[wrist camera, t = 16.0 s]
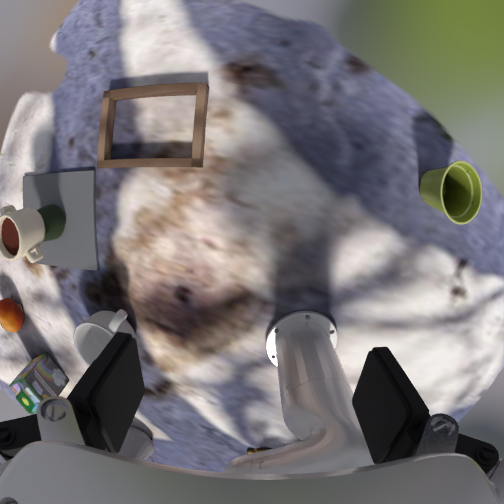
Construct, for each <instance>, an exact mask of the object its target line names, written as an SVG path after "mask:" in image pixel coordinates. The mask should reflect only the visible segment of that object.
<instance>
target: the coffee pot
mask: <svg viewBox="0 0 504 504" xmlns="http://www.w3.org/2000/svg"><path fill="white" fill-rule="evenodd" d="M153 452H154V445H153V442H152V441H151V439H150V438H149V436H148V435H147V434H146V433H145V432H143V431H142V430H140V429H138V428H135V427H132V426H130V427H129V430H128V432H127V435H126V437H125V440H124V442H123V444H122V447H121V449H120V451H119V453H115V454H119V455H123V456H127V457H131V458H135V459H139V460H144V461H145V460H146V459H147V458H148V457H150V455H151V454H152V453H153ZM152 460H153V458H152ZM153 463H154V460H153Z"/></svg>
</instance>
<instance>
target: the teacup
mask: <svg viewBox="0 0 504 504" xmlns="http://www.w3.org/2000/svg"><path fill="white" fill-rule="evenodd" d="M126 317H127V313H126V312H125V311H124V310H122V309H120V310H119V311H118V312H117V313H115V312H112V311H99V312H97V313H95V314H93V315H92V316H90V317H89V318H88V319H86V320H85V321H84V322H83V323H81V324H79V325H78V326H77V327H76V329H75V331H74V344H75V347H76V350H77V352H78V354H79V355H80V357H81V358H82V359H83V361H84V362H85V363H86V364H87V365H88V366H90V365H91V364H92V362H93V361H94V360H95V359H97V357H98V356H99V355H100V353H101V352H102V351H103V349H104V348H105V347H106V345H107V344H108V343H109V341H110V340H111V339H112V337H113V336H114V335H115V333H116V332H124V333H130V334H131V335H132V337H133V338H135V339H136V335H135V332H134V330H133V328H132V327H131V325H130V324H129V323H128V322H127V320H126ZM136 342H137V340H136Z"/></svg>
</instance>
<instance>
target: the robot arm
mask: <svg viewBox="0 0 504 504" xmlns="http://www.w3.org/2000/svg"><path fill="white" fill-rule="evenodd" d="M306 315H308V316H306ZM337 342H338V335H337V331H336V328H335V326H334V324H333V323H332V322H331V320H330V319H329V318H327V317H326V316H325V315H323V314H321V313H318V312H314V311H297V312H294V313H290V314H288V315H286V316H284V317H282V318H281V319H279V320H278V321H277V322H276V323H275V324H274V325H273V326H272V328H271V329H270V331H269V333H268V335H267V339H266V351H267V354H268V357H269V358H270V360H271V361H272V362H273V363H274V364H275V365H276V366H277V368H278V377H279V386H280V395H281V403H282V412H283V418H284V421H285V424H286V426H287V427H288V429H289V430H290V431H291V432H292V433H293V434H294V435H295V436H296V437H297V438H299V439H300V440H301V441H298V442H295V443H292V444H290V445H286V446H282V447H278V448H274V449H270V450H265V451H261V452H256V453H251V454H247V455H243V456H240V457H237V458H235V459H233V460H232V461H230V462H229V463H228V464H227V466H226V468H225V469H224V473H222V472H211V471H202V470H194V469H187V468H180V467H174V466H168V465H163V464H158V463H153V462H149V461H144V460H139V459H135V458H131V457H127V456H123V455H119V454H115V453H119V451H120V449H121V447H122V444H123V442H124V440H125V437H126V435H127V432H128V430H129V427H130V425H131V423H132V420H133V418H134V416H135V413H136V411H137V409H138V406H139V404H140V402H141V399H142V397H143V395H144V390H145V388H144V382H143V377H142V372H141V366H140V361H139V355H138V349H137V342H136V339H135V338H133V337H132V335H131V334H130V333H124V332H116V333H115V335H114V336H113V337H112V339H111V340H110V341H109V343H108V344H107V345H106V347H105V348H104V349H103V351H102V352H101V353H100V355H99V356H98V357H97V359H95V360H94V361H93V362H92V364H91V365H90V366H89V368H88V369H87V370H86V372H85V373H84V375H83V376H82V377H81V379H80V380H79V382H78V383H77V384H76V386H75V387H74V389H73V390H72V391H71V393H70V394H69V396H68V397H67V399H66V398H64V397H61V396H50V397H47V398H45V399H43V400H42V401H41V402H40V403H39V404H38V407H37V414H34V415H30V416H26V417H22V418H18V419H13V420H9V421H3V422H0V504H504V459H503V458H502V459H501V460H499V454H498V451H497V450H496V448H495V447H494V446H493V445H491V444H489V443H486V442H483V441H480V440H477V439H474V438H471V437H468V436H465V435H462V434H460V433H459V426H458V423H457V422H456V420H455V419H454V418H452V417H451V416H449V415H447V414H442V413H440V414H434V415H432V416H430V414H429V409H428V408H427V406H426V405H425V403H424V401H423V400H422V398H421V397H420V395H419V393H418V392H417V390H416V389H415V387H414V386H413V384H412V383H411V381H410V380H409V378H408V377H407V375H406V374H405V372H404V371H403V369H402V368H401V366H400V365H399V363H398V362H397V360H396V359H395V357H394V356H393V354H392V353H391V351H390V350H389V348H388V347H375V348H373V349H372V351H369V353H368V355H367V358H366V361H365V364H364V367H363V370H362V373H361V376H360V378H359V381H358V384H357V387H356V389H355V392H354V395H353V392H352V390H351V387H350V385H349V382H348V380H347V377H346V375H345V373H344V370H343V368H342V365H341V363H340V361H339V358H338V356H337V354H336V351H335V349H336V346H337Z"/></svg>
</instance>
